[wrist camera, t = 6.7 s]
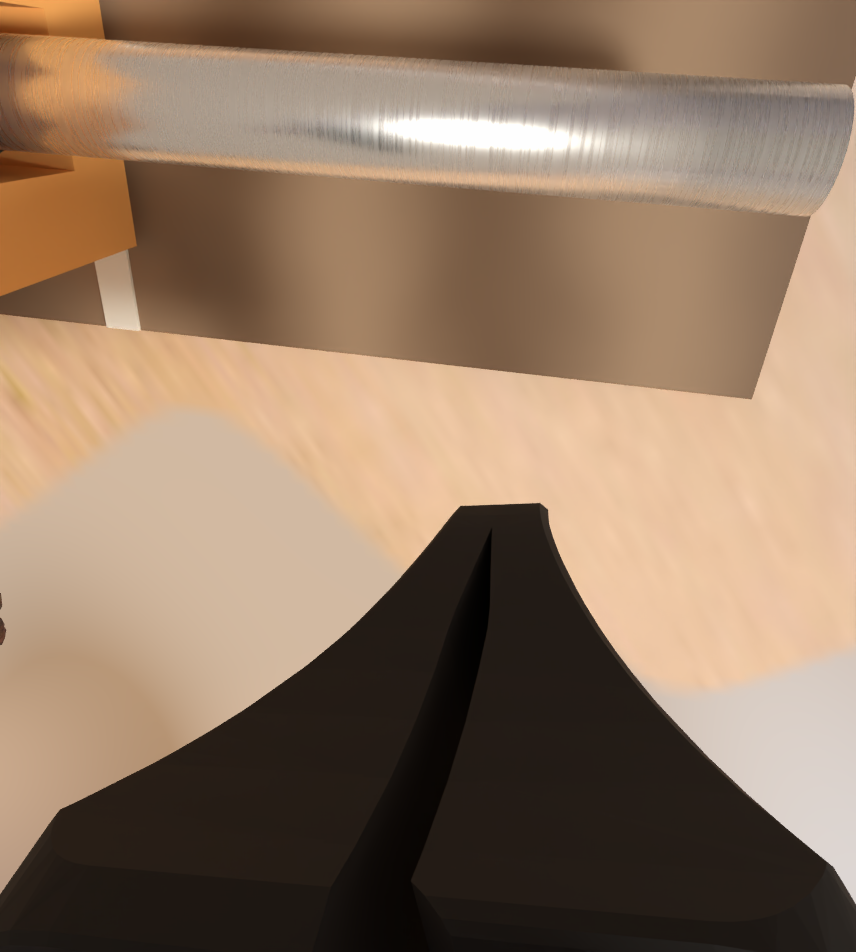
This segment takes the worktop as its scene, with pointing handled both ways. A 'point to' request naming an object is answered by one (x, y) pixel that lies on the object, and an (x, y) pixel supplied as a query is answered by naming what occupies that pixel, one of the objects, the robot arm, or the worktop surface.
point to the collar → (58, 176)
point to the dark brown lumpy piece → (2, 626)
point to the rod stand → (451, 175)
